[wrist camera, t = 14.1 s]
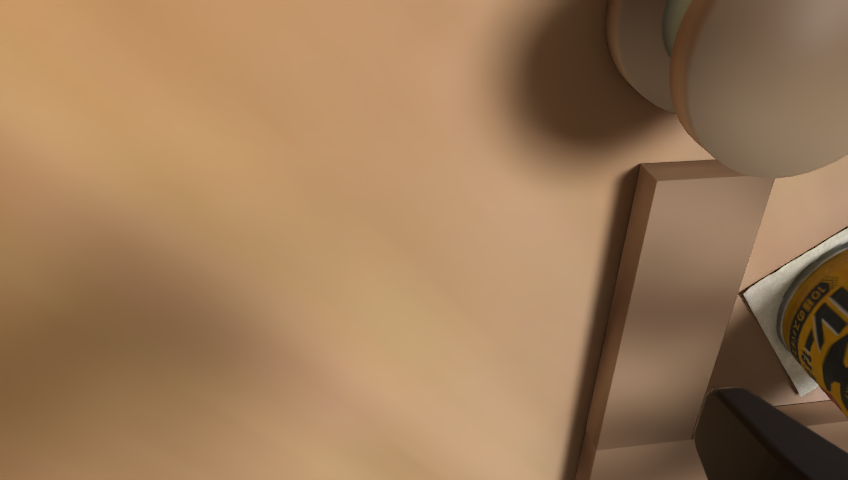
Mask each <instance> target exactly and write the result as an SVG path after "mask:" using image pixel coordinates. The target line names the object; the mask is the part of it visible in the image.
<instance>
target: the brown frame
mask: <svg viewBox="0 0 848 480" xmlns="http://www.w3.org/2000/svg"><path fill="white" fill-rule="evenodd" d="M774 180H775V178H760V177H753V176H748V175H745V174H742V173H739V172H736V171H734V170H732V169H730V168H728V167H726V166H725V165H723V164H722V163H721V162H719V161H718V160H704V161H685V162H666V163H648V164H641V165H640V170H639V175H638V180H637V184H636V189H635V194H634V199H633V204H632V208H631V213H630V218H629V223H628V228H627V232H626V237H625V242H624V247H623V252H622V256H621V261H620V266H619V271H618V276H617V280H616V285H615V290H614V295H613V300H612V304H611V309H610V314H609V319H608V324H607V328H606V333H605V338H604V343H603V348H602V352H601V357H600V362H599V367H598V372H597V376H596V381H595V386H594V391H593V396H592V400H591V405H590V410H589V415H588V420H587V424H586V429H585V434H584V439H583V444H582V448H581V453H580V458H579V463H578V468H577V472H576V477H575V480H707V477H706V474H705V472H704V469H703V467H702V464H701V462H700V459H699V456H698V454H697V451H696V448H695V444H694V431H695V427H696V424H697V421H698V418H699V411H700V408H701V405H702V402H703V399H704V396H705V393H706V390H707V387H708V384H709V381H710V378H711V374H712V371H713V368H714V365H715V362H716V359H717V356H718V353H719V350H720V347H721V344H722V340H723V337H724V334H725V331H726V328H727V325H728V322H729V319H730V316H731V313H732V310H733V307H734V303H735V300H736V297H737V294H738V291H739V288H740V285H741V282H742V279H743V276H744V273H745V270H746V266H747V263H748V260H749V257H750V254H751V251H752V248H753V245H754V242H755V239H756V236H757V232H758V229H759V226H760V223H761V220H762V217H763V214H764V211H765V208H766V205H767V202H768V199H769V195H770V192H771V189H772V186H773V183H774ZM776 408H777V409H779V410H780V411H782V412H784V413H785V414H787V415H788V416H790V417H792V418H793V419H795V420H796V421H798V422H800V423H801V424H803V425H804V426H806V427H808V428H809V429H811V430H812V431H814V432H816V433H817V434H819V435H820V436H822V437H824V438H825V439H827V440H828V441H830V442H831V443H833V444H835V445H836V446H838V447H839V448H841V449H843V450H844V451H846V452H847V453H848V419H847V417H846V416H845V414H844V413H843V412H842V411H841V410H840V409H839V408H838V407H837V405H836V404H835V403H833V402H832V401H831V400H830V401H822V402H813V403H804V404H795V405H786V406H777V407H776Z"/></svg>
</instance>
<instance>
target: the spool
mask: <svg viewBox="0 0 848 480" xmlns="http://www.w3.org/2000/svg"><path fill="white" fill-rule="evenodd" d="M606 36H607V43H608V47H609V51H610V54H611V57H612V59H613V62H614V64H615V66H616V68H617V69H618V71H619V72H620V74H621V75H622V77H623V78H624V79H625V80H626V81H627V82H628V83H629V84H630V85H631V86H632V87H633V88H634V89H635V90H636V91H638V92H639V93H640V94H641V95H642V96H643V97H645V98H646V99H647V100H648V101H650V102H651V103H653V104H654V105H656V106H657V107H659V108H661V109H663V110H666V111H669V112H672V113H675V114H677V116H678V118H679V121H680V123H681V124H682V126H683V127H684V129H685V130H686V132H687V133H688V134H689V135H690V136H691V137H692V138H693V139H694V140H695V141H696V142H697V143H698V144H699V145H700V146H701V147H703V148H704V149H705V150H706V151H707V152H708V153H709V154H711V155H712V156H713V157H714V158H715V159H717V160H718V161H719V162H721V163H722V164H723V165H725V166H726V167H728V168H730V169H732V170H734V171H736V172H739V173H742V174H745V175H748V176H753V177H760V178H782V177H791V176H796V175H800V174H804V173H808V172H811V171H814V170H817V169H819V168H822V167H824V166H827V165H829V164H831V163H833V162H835V161H837V160H839V159H841V158H842V157H844V156H846V155H848V0H608V3H607V10H606Z"/></svg>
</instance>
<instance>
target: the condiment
mask: <svg viewBox="0 0 848 480" xmlns="http://www.w3.org/2000/svg"><path fill="white" fill-rule="evenodd" d="M743 295H744V297H745V299H746V300H747V302H748V304H749V306H750V307H751V309H752V311H753V313H754V315H755V317H756V318H757V320H758V322H759V324H760V326H761V328H762V329H763V331H764V333H765V335H766V337H767V338H768V340H769V342H770V344H771V346H772V347H773V349H774V351H775V352H776V354H777V356H778V358H779V359H780V361H781V363H782V365H783V367H784V368H785V370H786V371H787V374H788V375H789V376H790V378H791V380H792V382H793V384H794V385H795V387H796V389H797V391H798V392H799V394H800V396H801V397H802V396H803V395H805V394H807V393H809V392H811V391H812V390H814V389H815V388H817V387H820V388H821V389H822V390H823V391H824V392H825V393H826V394H827V396H828V397H829V398H830V399H831V401H832V402H833V403H835V404H836V405H837V407H838V408H839V409H840V410H841V411H842V412H843V413H844V414H845V416H846V417H847V419H848V228H847V229H845V230H843V231H842V232H840V233H838V234H836V235H834V236H833V237H831V238H829V239H828V240H826V241H825V242H823V243H822V244H820V245H818V246H817V247H816V248H814V249H812V250H810V251H808V252H806V253H805V254H803V255H802V256H800V257H799V258H797V259H795V260H793V261H791V262H790V263H788V264H786V265H785V266H783V267H782V268H781V269H779V270H778V271H777V272H775V273H773V274H770V275H768V276H767V277H765V278H764V279H762V280H760V281H759V282H758V283H756V284H755V285H753V286H752V287H750V288H749V289H748V290H747V291H746V292H745V293H744V294H743Z"/></svg>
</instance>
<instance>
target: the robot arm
mask: <svg viewBox="0 0 848 480" xmlns="http://www.w3.org/2000/svg"><path fill="white" fill-rule="evenodd" d="M694 444H695V448H696V451H697V454H698V456H699V459H700V462H701V464H702V467H703V469H704V472H705V474H706V477H707V480H848V453H847V452H846V451H844V450H843V449H841V448H839V447H838V446H836V445H835V444H833V443H831V442H830V441H828V440H827V439H825V438H824V437H822V436H820V435H819V434H817V433H816V432H814V431H812V430H811V429H809V428H808V427H806V426H804V425H803V424H801V423H800V422H798V421H796V420H795V419H793V418H792V417H790V416H788V415H787V414H785V413H784V412H782V411H780V410H779V409H777V408H776V407H774V406H772V405H771V404H769V403H768V402H766V401H764V400H763V399H761V398H760V397H758V396H756V395H755V394H753V393H752V392H750V391H749V390H747V389H745V388H743V387H739V386H730V387H721V388H714V389H711V390H710V391H709V392H708V393H707V394H706V396H705V399H704V402H703V405H702V409H701V412H700V415H699V418H698V421H697V424H696V427H695V431H694Z"/></svg>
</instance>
